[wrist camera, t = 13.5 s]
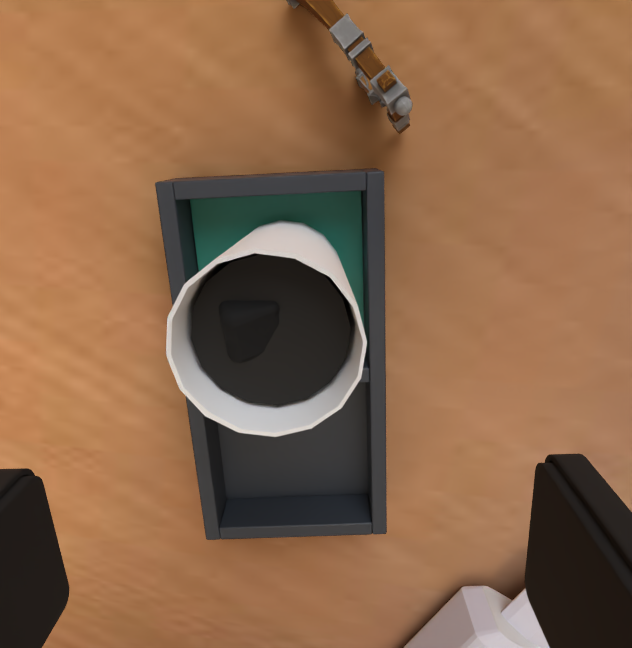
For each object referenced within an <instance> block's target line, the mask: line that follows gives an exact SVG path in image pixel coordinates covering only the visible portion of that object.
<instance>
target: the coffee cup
mask: <svg viewBox="0 0 632 648" xmlns="http://www.w3.org/2000/svg"><path fill="white" fill-rule="evenodd" d="M366 346H367V339H366V335H365V332H364V328H363V324H362V320H361V316H360V312H359V308H358V305H357V302H356V300H355V297H354V295H353V292H352V290H351V287H350V285H349V282H348V279H347V277H346V274H345V272H344V269H343V267H342V264H341V262H340V259H339V257H338V254H337V252H336V250H335V249H334V248H333V246H332V245H331V244H330V242H329V241H328V240H327V239H326V237H325V236H324V235H323V234H322V233H320V232H318V231H317V230H315V229H313V228H311V227H310V226H308V225H306V224H304V223H300V222H292V221H284V220H279V221H276V222H272V223H268V224H265V225H261V226H259V227H257V228H256V229H255V230H253V231H252V232H251V233H249V234H248V235H247V236H245V237H244V238H243V239H241V240H240V241H239V242H237V243H236V244H235V245H233V246H232V247H231V248H229V249H228V250H227V251H225V252H224V253H223V254H221V255H220V256H218V257H217V258H216V259H215V260H213V261H212V262H211V263H210V264H208V265H207V266H206V267H205V268H203V269H202V270H201V271H200V272H198V273H197V274H196V275H195V276H193V277H192V278H191V279H190V280H188V281H187V282H186V283H185V284H184V285H183V287H182V289H181V291H180V293H179V295H178V297H177V299H176V301H175V303H174V305H173V307H172V309H171V311H170V313H169V315H168V317H167V342H166V356H167V358H168V361H169V363H170V366H171V369H172V371H173V374H174V376H175V379H176V381H177V384H178V386H179V389H180V390H181V391H182V392H183V393H184V394H185V395H186V396H187V397H188V398H189V400H190V401H191V402H192V403H193V404H194V405H195V406H196V407H197V408H198V409H199V410H200V411H201V412H202V413H203V414H204V415H205V416H206V417H208V418H210V419H212V420H214V421H216V422H218V423H220V424H222V425H224V426H226V427H228V428H230V429H232V430H234V431H236V432H238V433H246V434H254V435H263V436H272V437H278V436H282V435H286V434H290V433H295V432H299V431H303V430H307V429H312V428H313V427H314V426H316V425H317V424H319V423H320V422H322V421H323V420H325V419H326V418H328V417H329V416H331V415H332V414H334V413H335V412H337V411H338V410H339V409H341V408H342V407H343V405H344V404H345V402H346V400H347V399H348V397H349V396H350V394H351V393H352V391H353V390H354V388H355V387H356V385H357V384H358V382H359V381H360V379H361V376H362V370H363V364H364V358H365V352H366Z"/></svg>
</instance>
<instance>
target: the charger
mask: <svg viewBox="0 0 632 648" xmlns="http://www.w3.org/2000/svg"><path fill="white" fill-rule="evenodd" d="M403 648H550V647H549V645H548V643H547V641H546V638H545V636H544V634H543V632H542V629H541V627H540V625H539V623H538V620H537V618H536V616H535V614H534V611H533V609H532V607H531V604H530V602H529V600H528V597H527V593H526V588H524V589H523V590H522V591H521V592H520V593H519V594H518V595H517V596H516V597H515V598H514V599H513V600H511V599H509V598H508V597H506V596H504V595H502V594H501V593H499V592H497V591H495V590H494V589H492V588H490V587H488V586H463V587H462V588H461V589H460V590H459V591H458V592H457V593H456V594H455V595H454V596H453V597H452V598H451V599H450V600H449V601H448V602H447V603H446V604H445V605H444V606H443V607H442V608H441V609H440V610H439V611H438V613H437V614H436V615H435V616H434V617H433V618H432V619H431V620H430V621H429V622H428V623H427V624H426V625H425V626H424V627H423V628H422V629H421V630H420V631H419V632H418V633H417V634H416V635H415V636H414V637H413V638H412V639H411V640H410V641H409V642H408V643H407V644H406V645H405V646H404V647H403Z"/></svg>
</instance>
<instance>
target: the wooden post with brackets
mask: <svg viewBox="0 0 632 648" xmlns="http://www.w3.org/2000/svg"><path fill="white" fill-rule="evenodd" d="M287 2H288V4H289V5H291V6H292V7H293V9H295V8H296V7H297V6H298V5H299V4H301V5H302V6H304V7H305V8H306V9H307V10H309V11H310V12H311V13H312V14H313V15H314V16H315V17H316V18H317V19H318V20H319V21H320V22H321V23H322V24H323V25H324V26H325V27H326V28H327V29H328V30H329V31H330V33H331V36H332V38H333V40H334V42H335V43H336V44H337V45H338V46H339V47H340V48H341V49H342V51H343V52H344V53H345V55H346V56H347V58H348V60H349V61H351V63H352V66H354V67H355V68H356V71H355V73H356V76H357V77H356V80H357V82H358V85H359V87H360V88H363V89H364V90H365V91H366V92H367V93H368V94H367V95H368V97H369V100H370V103H371V104H372V105H373V104H374V103H375V102H377V101H379V102H380V104H381V107H385V106H386V107H387V112H388V113H387V116H388V118H389V120H390V122H391V123H392V124H393V127H394V128H395V129H396V131H397V132H398V133H399V134H400V133H402V132H403V131H404V130H405V129H407V128H408V127H409V126H410V124H409V120H410V118H409V113H410V111H411V110H412V101H411V100H410V96H409V93H408V89H407V88H406V87H405V86H404V85H403V84H402V83H401V82H400V81H399V79H398V78H397V77H396V75H395V74H394V73H393V72H392V70H391V68H390V66H389V65H388V66H387V67H386V68H385V67H384V65H383V64H382V63H381V61H380V60H379V59H378V57H377V56H376V55H375V53H374V51H373V47H372V44H371V42H370V41H369V40H368V38H366V39H365V36H364V33H363V32H362V31H361V30H359V29H358V28H357V26H356V25H355V24H354V23H353V22H352V20H351V19H350V17H349V15H348V14H346V15H345V16H344V15H343V13H342V12H341V11H340V10H339V8H338V7H337V6H336V5H335V3H334V2H333V0H287Z"/></svg>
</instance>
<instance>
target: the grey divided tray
mask: <svg viewBox="0 0 632 648" xmlns="http://www.w3.org/2000/svg"><path fill="white" fill-rule="evenodd" d="M155 186H156V193H157V200H158V207H159V214H160V221H161V228H162V235H163V242H164V249H165V256H166V263H167V270H168V276H169V283H170V290H171V297H172V304H173V305H174V303H175V301H176V299H177V297H178V295H179V293H180V291H181V289H182V287H183V285H184V284H185V283H186V282H187V281H188V280H190V279H191V278H192V277H193V276H195V275H196V274H197V273H198V272H200V271H201V270H202V269H203V268H205V267H206V266H207V265H208V264H210V263H211V262H212V261H213V260H215V259H216V258H217V257H218V256H220V255H221V254H223V253H224V252H225V251H227V250H228V249H229V248H231V247H232V246H233V245H235V244H236V243H237V242H239V241H240V240H241V239H243V238H244V237H245V236H247V235H248V234H249V233H251V232H252V231H253V230H255V229H256V228H257V227H259V226H261V225H265V224H268V223H272V222H276V221H279V220H284V221H292V222H300V223H304V224H306V225H308V226H310V227H311V228H313V229H315V230H317V231H318V232H320V233H322V234H323V235H324V236H325V237H326V239H327V240H328V241H329V242H330V244H331V245H332V246H333V248H334V249H335V250H336V252H337V254H338V257H339V259H340V262H341V264H342V267H343V269H344V272H345V274H346V277H347V279H348V282H349V285H350V287H351V290H352V292H353V295H354V297H355V300H356V302H357V305H358V308H359V312H360V316H361V320H362V324H363V328H364V332H365V335H366V339H367V346H366V352H365V358H364V364H363V370H362V376H361V379H360V381H359V382H358V384H357V385H356V387H355V388H354V390H353V391H352V393H351V394H350V396H349V397H348V399H347V400H346V402H345V404H344V405H343V407H342V408H341V409H339V410H338V411H337V412H335V413H334V414H332V415H331V416H329V417H328V418H326V419H325V420H323V421H322V422H320V423H319V424H317V425H316V426H314V427H313V428H312V429H307V430H303V431H299V432H295V433H290V434H286V435H282V436H278V437H272V436H263V435H254V434H246V433H238V432H236V431H234V430H232V429H230V428H228V427H226V426H224V425H222V424H220V423H218V422H216V421H214V420H212V419H210V418H208V417H206V416H205V415H204V414H203V413H202V412H201V411H200V410H199V409H198V408H197V407H196V406H195V405H194V404H193V403H192V402H191V401H190V400H189V398H188V397H187V396H186V401H187V408H188V415H189V422H190V429H191V436H192V443H193V450H194V457H195V464H196V471H197V478H198V485H199V492H200V499H201V506H202V513H203V519H204V526H205V533H206V539H207V540H216V539H220V538H221V539H246V538H276V537H306V536H337V535H367V534H372V533H373V534H386V532H387V525H386V369H385V212H384V171H381V170H378V169H377V168H372V169H352V170H333V171H313V172H293V173H274V174H254V175H234V176H214V177H195V178H175V179H170V180H165V181H160V182H156V183H155Z"/></svg>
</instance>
